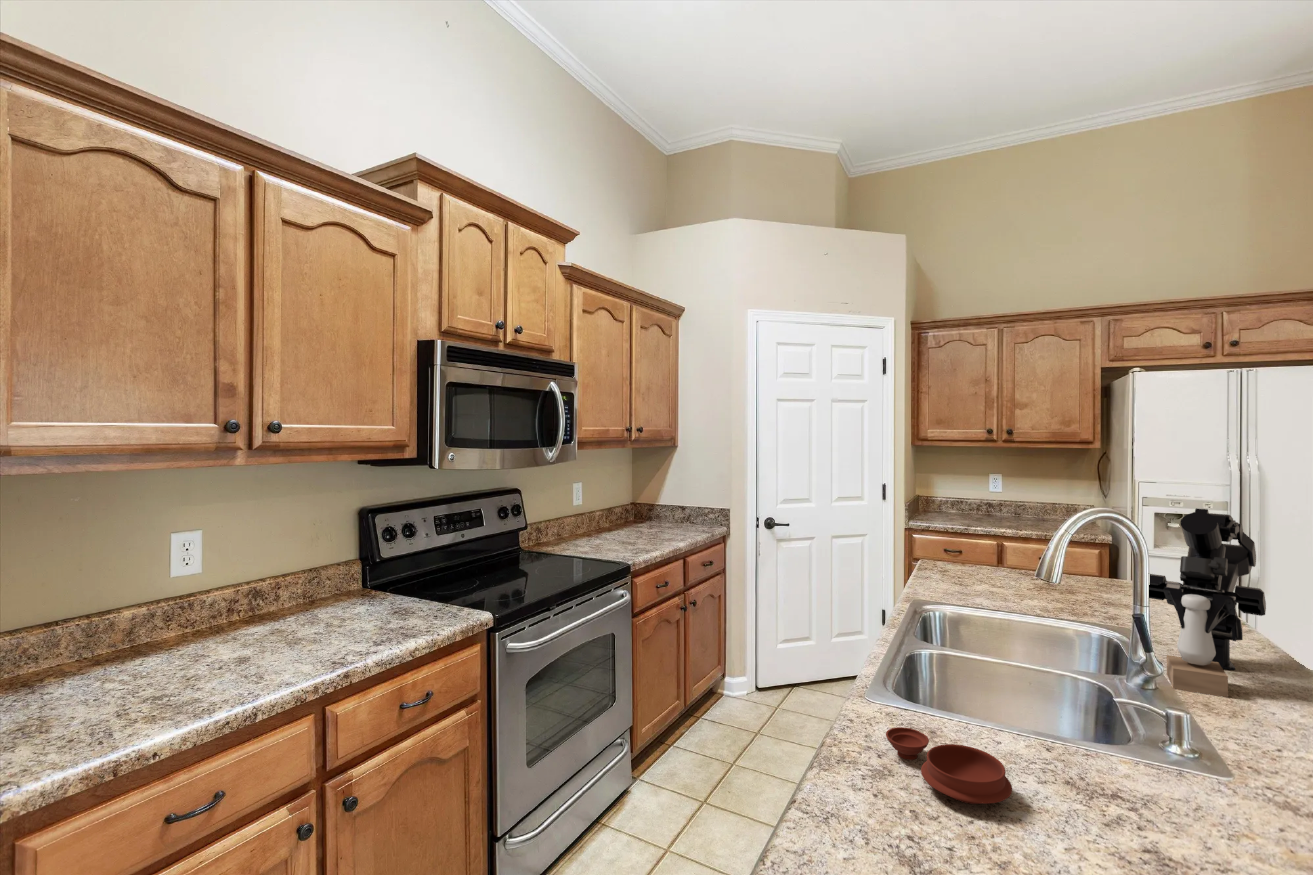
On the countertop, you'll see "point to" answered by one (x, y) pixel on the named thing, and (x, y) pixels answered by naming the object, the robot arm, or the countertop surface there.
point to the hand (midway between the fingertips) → (1194, 629)
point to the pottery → (955, 768)
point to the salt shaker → (1196, 632)
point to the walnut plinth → (1197, 677)
